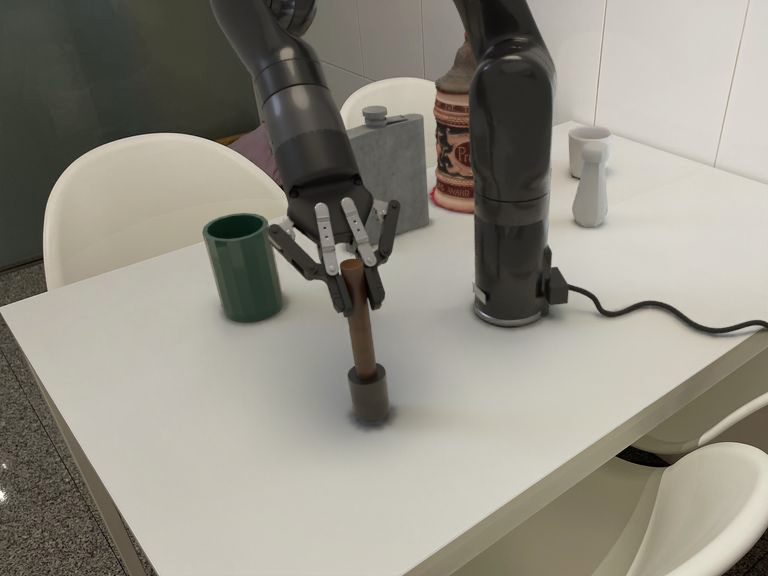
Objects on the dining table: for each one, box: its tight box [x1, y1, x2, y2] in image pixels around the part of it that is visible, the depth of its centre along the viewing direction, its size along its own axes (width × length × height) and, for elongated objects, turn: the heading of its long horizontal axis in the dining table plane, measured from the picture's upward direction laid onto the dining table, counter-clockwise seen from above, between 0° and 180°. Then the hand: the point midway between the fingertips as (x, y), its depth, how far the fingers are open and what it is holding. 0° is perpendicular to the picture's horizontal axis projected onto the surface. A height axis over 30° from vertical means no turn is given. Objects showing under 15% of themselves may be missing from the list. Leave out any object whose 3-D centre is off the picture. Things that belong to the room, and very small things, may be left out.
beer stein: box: [428, 31, 476, 214], centre depth 117 cm, size 17×28×18 cm
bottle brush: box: [339, 258, 391, 422], centre depth 71 cm, size 4×4×18 cm
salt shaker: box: [571, 142, 610, 228], centre depth 111 cm, size 6×6×13 cm
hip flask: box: [344, 105, 430, 253], centre depth 107 cm, size 16×4×20 cm, turn 132°
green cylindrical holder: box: [201, 212, 285, 323], centre depth 92 cm, size 8×8×12 cm
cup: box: [567, 125, 614, 179], centre depth 128 cm, size 11×8×8 cm
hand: (363, 310), depth 66 cm, fingers closed on bottle brush, 2 cm apart
